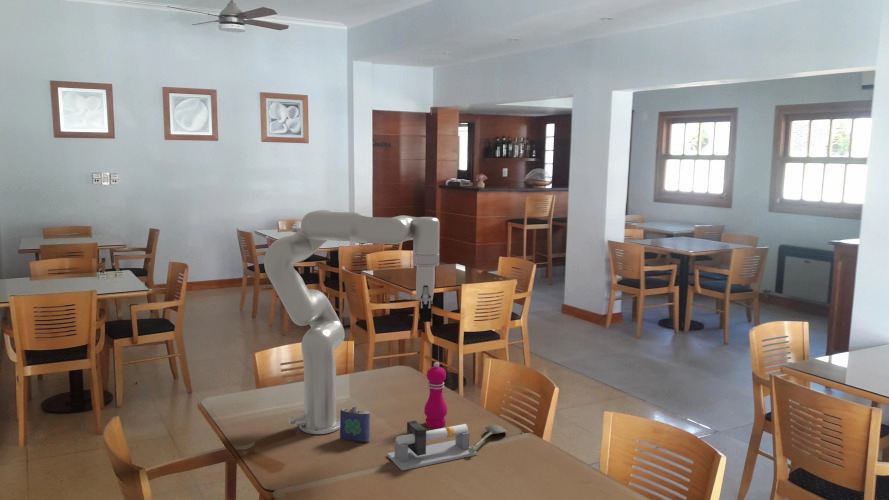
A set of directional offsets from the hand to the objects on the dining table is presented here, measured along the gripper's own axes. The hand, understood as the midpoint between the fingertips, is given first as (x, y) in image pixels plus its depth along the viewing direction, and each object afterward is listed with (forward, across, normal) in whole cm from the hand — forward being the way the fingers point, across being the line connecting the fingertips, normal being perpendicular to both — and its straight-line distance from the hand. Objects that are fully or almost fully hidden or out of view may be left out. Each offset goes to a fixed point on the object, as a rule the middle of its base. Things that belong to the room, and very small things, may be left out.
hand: (425, 317), depth 197 cm
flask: (+36, +4, -20) cm, 42 cm away
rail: (+36, +14, +2) cm, 39 cm away
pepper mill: (+36, -9, +3) cm, 38 cm away
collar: (+34, +16, -2) cm, 37 cm away
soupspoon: (+36, +4, +18) cm, 40 cm away
